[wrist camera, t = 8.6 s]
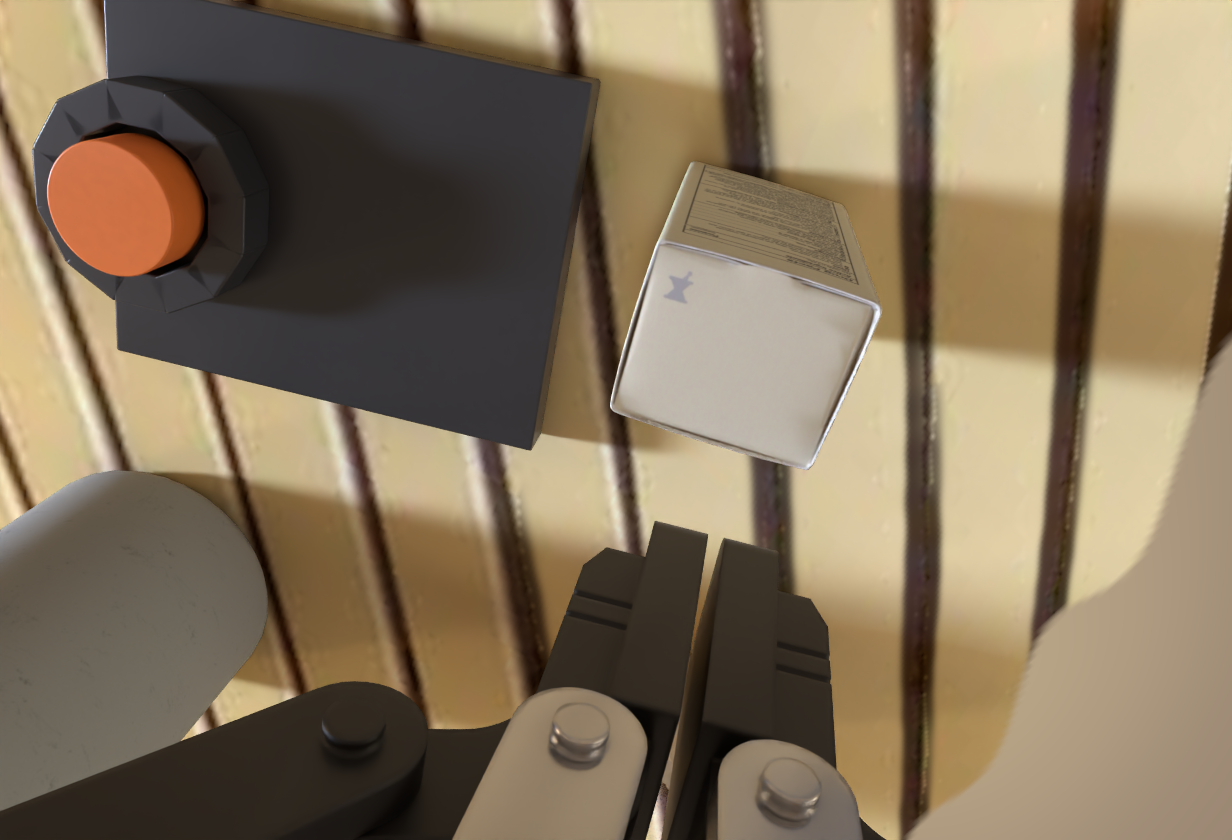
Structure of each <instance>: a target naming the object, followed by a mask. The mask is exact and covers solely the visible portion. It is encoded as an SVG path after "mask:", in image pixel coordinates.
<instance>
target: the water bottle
mask: <svg viewBox="0 0 1232 840" xmlns="http://www.w3.org/2000/svg"><path fill="white" fill-rule="evenodd" d="M266 619H267V589H266V584H265V579H264V574H263V570H262V568H261V566H260V563H259V561H258V558H257V556H256V554H255V551H254V550H253V548H252V547H251V545H250V544H249V542H248V540H247V539H246V537H245V536H244V534H243V533H242V531H241V530H240V529H239V528H238V527H237V526H236V525H235V524H234V522H233V521H232V520H231V519H230V518H229V517H228V516H227V515H226V514H225V513H224V512H223V511H222V510H221V509H219V508H218V507H217V506H216V505H215V504H213V503H212V502H211V501H210V500H209V499H207V498H205V497H204V496H202V495H201V494H199V493H197V492H196V491H194V490H192V489H191V488H189V487H187V486H185V485H183V484H180V483H178V482H175V481H173V480H171V479H168V478H166V477H162V476H158V475H153V474H149V473H145V472H136V471H108V472H102V473H96V474H92V475H89V476H86V477H84V478H81V479H79V480H76V481H74V482H72V483H69V484H68V485H66V486H65V487H63V488H62V489H60V490H59V491H57V492H56V493H54V494H53V495H51V496H50V497H48V498H47V499H45V500H44V501H42V502H41V503H39V504H38V505H36V506H35V507H33V508H32V509H30V510H29V511H27V512H26V513H24V514H23V515H22V516H20V517H19V518H17V519H16V520H14V521H13V522H11V523H10V524H8V525H7V526H5V527H4V528H2V529H1V530H0V811H2V810H4V809H7V808H9V807H12V806H15V805H17V804H20V803H22V802H25V801H28V800H30V799H33V798H35V797H38V796H41V795H43V794H46V793H48V792H51V791H53V790H56V789H59V788H61V787H64V786H66V785H69V784H72V783H74V782H77V781H79V780H82V779H85V778H87V777H90V776H92V775H95V774H97V773H100V772H103V771H105V770H108V769H110V768H113V767H116V766H118V765H121V764H123V763H126V762H129V761H131V760H134V759H136V758H139V757H141V756H144V755H147V754H149V753H152V752H154V751H157V750H160V749H162V748H165V747H167V746H170V745H173V744H175V743H178V742H180V741H181V740H182V739H183V737H184V736H185V735H186V734H187V733H188V731H189V730H190V729H191V728H192V726H193V725H194V724H195V723H196V722H197V720H198V719H199V718H200V717H201V716H202V714H203V713H204V712H205V711H206V709H207V708H208V707H209V706H210V705H211V703H212V702H213V701H214V700H215V698H216V697H217V696H218V695H219V694H220V692H221V691H222V690H223V689H224V688H225V686H226V685H227V684H228V683H229V681H230V680H231V679H232V678H233V677H234V675H235V674H236V673H237V672H238V670H239V669H240V668H241V667H242V666H243V664H244V663H245V662H246V661H247V660H248V658H249V657H250V656H251V655H252V653H253V651H254V650H255V648H256V646H257V644H258V642H259V641H260V639H261V637H262V634H263V631H264V627H265V623H266Z"/></svg>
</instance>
